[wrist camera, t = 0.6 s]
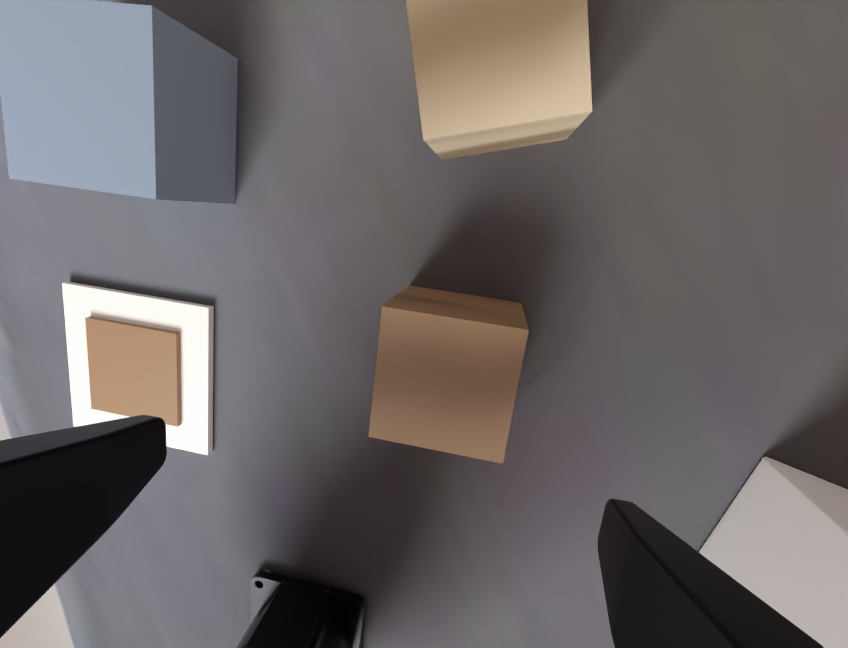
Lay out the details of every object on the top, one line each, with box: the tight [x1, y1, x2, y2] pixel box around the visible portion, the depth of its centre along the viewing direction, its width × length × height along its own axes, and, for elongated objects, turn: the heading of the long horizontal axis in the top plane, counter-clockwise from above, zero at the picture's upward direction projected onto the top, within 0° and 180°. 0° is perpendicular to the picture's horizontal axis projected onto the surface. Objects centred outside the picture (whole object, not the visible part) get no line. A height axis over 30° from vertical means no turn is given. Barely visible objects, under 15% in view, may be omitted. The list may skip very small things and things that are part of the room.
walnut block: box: [368, 285, 529, 464], centre depth 18 cm, size 5×5×5 cm
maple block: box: [406, 0, 592, 160], centre depth 15 cm, size 5×5×5 cm
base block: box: [0, 0, 238, 204], centre depth 18 cm, size 6×6×5 cm
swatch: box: [62, 282, 214, 455], centre depth 23 cm, size 8×8×1 cm
